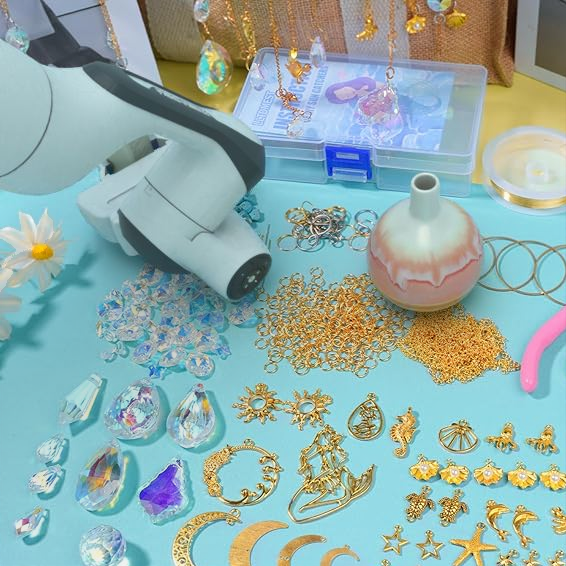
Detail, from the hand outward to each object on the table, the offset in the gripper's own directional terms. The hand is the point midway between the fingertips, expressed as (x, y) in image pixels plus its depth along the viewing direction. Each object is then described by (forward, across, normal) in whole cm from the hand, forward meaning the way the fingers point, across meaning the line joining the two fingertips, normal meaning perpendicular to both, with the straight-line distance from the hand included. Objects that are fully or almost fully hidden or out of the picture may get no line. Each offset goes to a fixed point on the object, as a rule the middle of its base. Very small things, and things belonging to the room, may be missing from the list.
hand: (125, 150), depth 110 cm
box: (-1, 0, +6) cm, 6 cm away
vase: (-40, -17, +6) cm, 44 cm away
